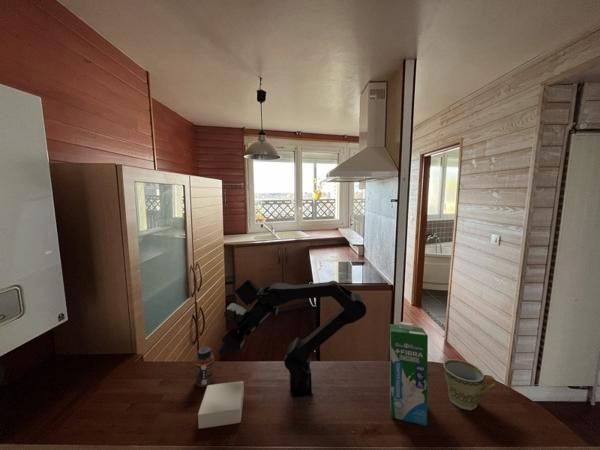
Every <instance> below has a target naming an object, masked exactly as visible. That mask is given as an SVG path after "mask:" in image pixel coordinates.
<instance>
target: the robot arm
mask: <svg viewBox="0 0 600 450" xmlns="http://www.w3.org/2000/svg"><path fill="white" fill-rule="evenodd" d="M233 294H234V295H235V296H236V297H237V298H238V299H239V300H240V301H241V302H242V303H243V304H244V305H245V306H249V305H250V307H248V308H247V309H245V308H244V307H243V306H240V305H239V304H237V303H234V302H232V303H229V305H227V307H226V310H225V311H224V312H223V315H224V316H223V317H224V318H225V319H226V320H228V321H230V322H231V321H233V322H234V325H235V326H236V328H229V330H228V331H226V332H225V334H224V335H223V336H222V337H221V342H223V344H222V346H221V348H220V349H219V350H218V354H219V355H220V356H221V355H224V354H225V355H226V354H230V353H234V354H237V353H238V352H239V351H240V350H241V349H242V347H243V346H244V344H245V338H244V337H245V336H247V337H250V335H251V334H252V332H253V331H255V329H257V328H258V327H259V325H261V323H262V322H263V321H264V320H265V319H266V318H268V316H269V315H270V314H271V315H272V316H273V317H275V318H276V316H277V314H278V313H279V306H282V305H286V304H288V303H291V302H292V301H296V300H306V299H307V300H308V299H316V298H326V297H327V298H328V297H331V298H332V299H334V300H335V301H336V302H337V303H338V304H339V307H338V309H337V310H336V311H335V312H334V314H332V315H331V316H330V317H329V318H327V319H326V320H325V321H324V322H323V323H321V325H319V326H318V327H317V328H316V329H314V331H312V332H311V333H310V334H309V335H308V336H307V337H306V338H302V339H300V337H299V336H296V338H295V339H294V340H293V341H291V342H290V343H289V344H288V348H287V351H286V353H285V356H284V357H285V358H284V360H283V362H284V364H283V365H284V367H285V368H286V369H287V370H288V372H289V374H288V377H289V390H290V392H291V394H292V397H293V398H296V397H305V396H311V395H313V394H314V392H313V387H312V386H313V385H312V369H311V360H312V358H311V355H312V354H313V353H314V352H315V351H316V350H317V349H318V348H320V346H322V345H323V344H325V342H327V341H328V340H329V339H330V338H331V337H332V336H334V335H335V334H336V333H338V331H340V330H341V329H342V328H343V327H345V326H347V325H350V324H353V323H356V322H358V321H359V320H361V319H363V318H364V317H365V316H366V314H367V307H366V303H365V301H364V299H363V297H362V295H360V294H358V293H354V292H353V291H351V290H350V289H348V288H347V287H345V286H343V285H341V284H340V283H339V282H338V281H336V280H331V281H324V282H314V283H305V284H290V283H285V282H284V283H283V282H275V283H273V284H272V285H269V286H262V287H261V288H259V287H258V285H256V284H255V283H254V282H253V280H252V279H251V278H249V277H248V278H247V280H246V281H244V283H242V284H241V285H240V286H238V288H237V289H236V290H235V291H234V292H233ZM256 300H257V301H256ZM255 301H256V302H255ZM254 302H255V303H254ZM252 304H253V305H252ZM251 305H252V306H251Z"/></svg>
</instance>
